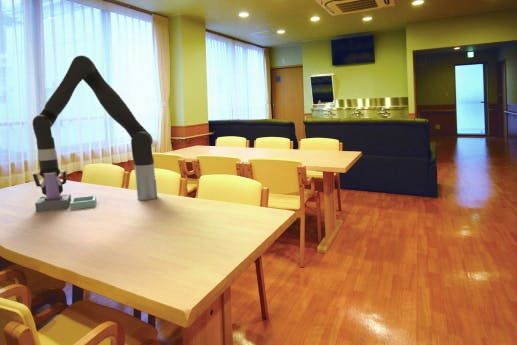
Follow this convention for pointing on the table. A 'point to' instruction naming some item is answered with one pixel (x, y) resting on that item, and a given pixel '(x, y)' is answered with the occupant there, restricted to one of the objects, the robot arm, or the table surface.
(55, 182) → the beverage can
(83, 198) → the teal square frame
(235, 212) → the table surface
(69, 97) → the robot arm
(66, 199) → the port
